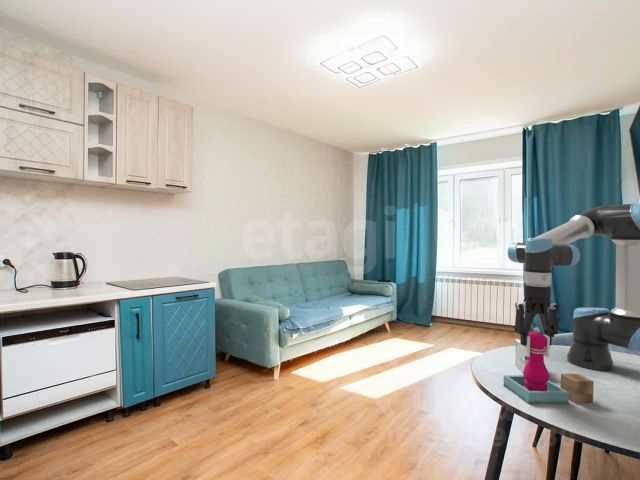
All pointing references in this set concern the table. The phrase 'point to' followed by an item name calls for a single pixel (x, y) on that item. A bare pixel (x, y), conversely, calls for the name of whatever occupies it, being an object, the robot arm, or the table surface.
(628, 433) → the table surface
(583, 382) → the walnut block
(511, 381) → the tray
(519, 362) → the light bulb box
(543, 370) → the pepper mill
